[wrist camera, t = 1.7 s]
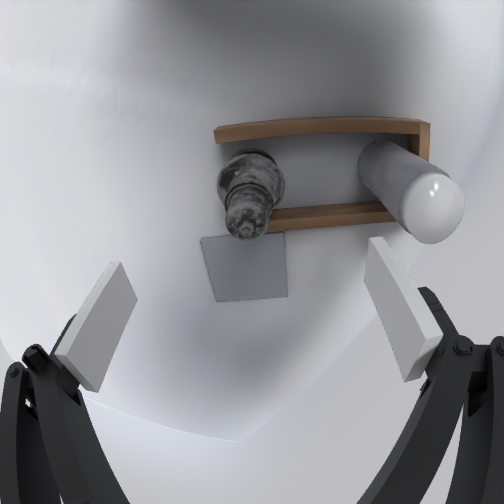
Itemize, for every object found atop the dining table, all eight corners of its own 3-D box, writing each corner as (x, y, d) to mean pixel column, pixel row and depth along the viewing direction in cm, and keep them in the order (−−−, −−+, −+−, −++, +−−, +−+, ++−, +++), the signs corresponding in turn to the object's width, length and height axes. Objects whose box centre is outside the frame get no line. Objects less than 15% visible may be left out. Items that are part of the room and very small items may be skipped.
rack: (217, 127, 24) (213, 130, 22) (417, 119, 22) (430, 123, 20) (234, 224, 30) (232, 235, 28) (411, 209, 28) (421, 219, 26)
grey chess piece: (285, 197, 28) (299, 268, 18) (228, 206, 29) (210, 279, 19) (277, 141, 25) (290, 181, 15) (216, 151, 26) (186, 198, 15)
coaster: (200, 238, 31) (199, 241, 30) (282, 230, 30) (283, 232, 30) (216, 298, 36) (216, 301, 35) (287, 293, 35) (287, 296, 34)
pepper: (357, 140, 24) (410, 174, 15) (406, 140, 24) (471, 176, 15) (357, 192, 27) (401, 249, 18) (403, 190, 27) (458, 243, 18)
